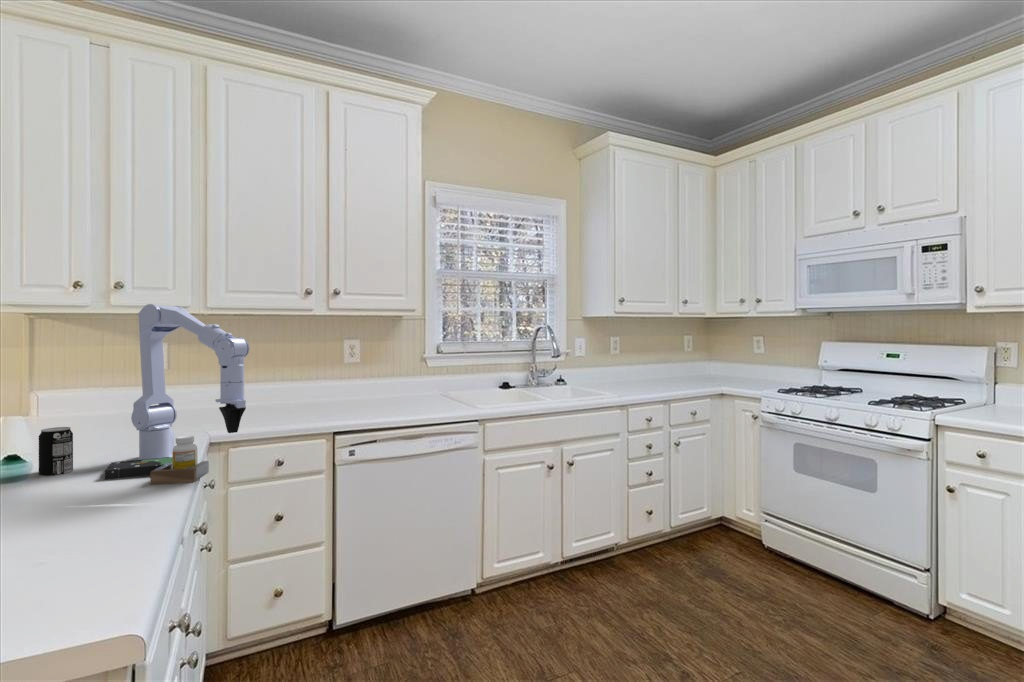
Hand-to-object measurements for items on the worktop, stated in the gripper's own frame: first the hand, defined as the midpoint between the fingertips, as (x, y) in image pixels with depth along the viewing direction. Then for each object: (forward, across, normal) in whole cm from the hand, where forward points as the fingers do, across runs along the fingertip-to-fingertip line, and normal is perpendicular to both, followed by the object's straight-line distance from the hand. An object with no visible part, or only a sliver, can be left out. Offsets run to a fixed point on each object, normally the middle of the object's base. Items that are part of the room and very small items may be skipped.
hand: (232, 432), depth 143 cm
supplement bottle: (+10, 0, -11) cm, 15 cm away
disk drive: (+8, -12, -26) cm, 29 cm away
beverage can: (+10, -22, -35) cm, 42 cm away
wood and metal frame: (+9, +3, -12) cm, 16 cm away
